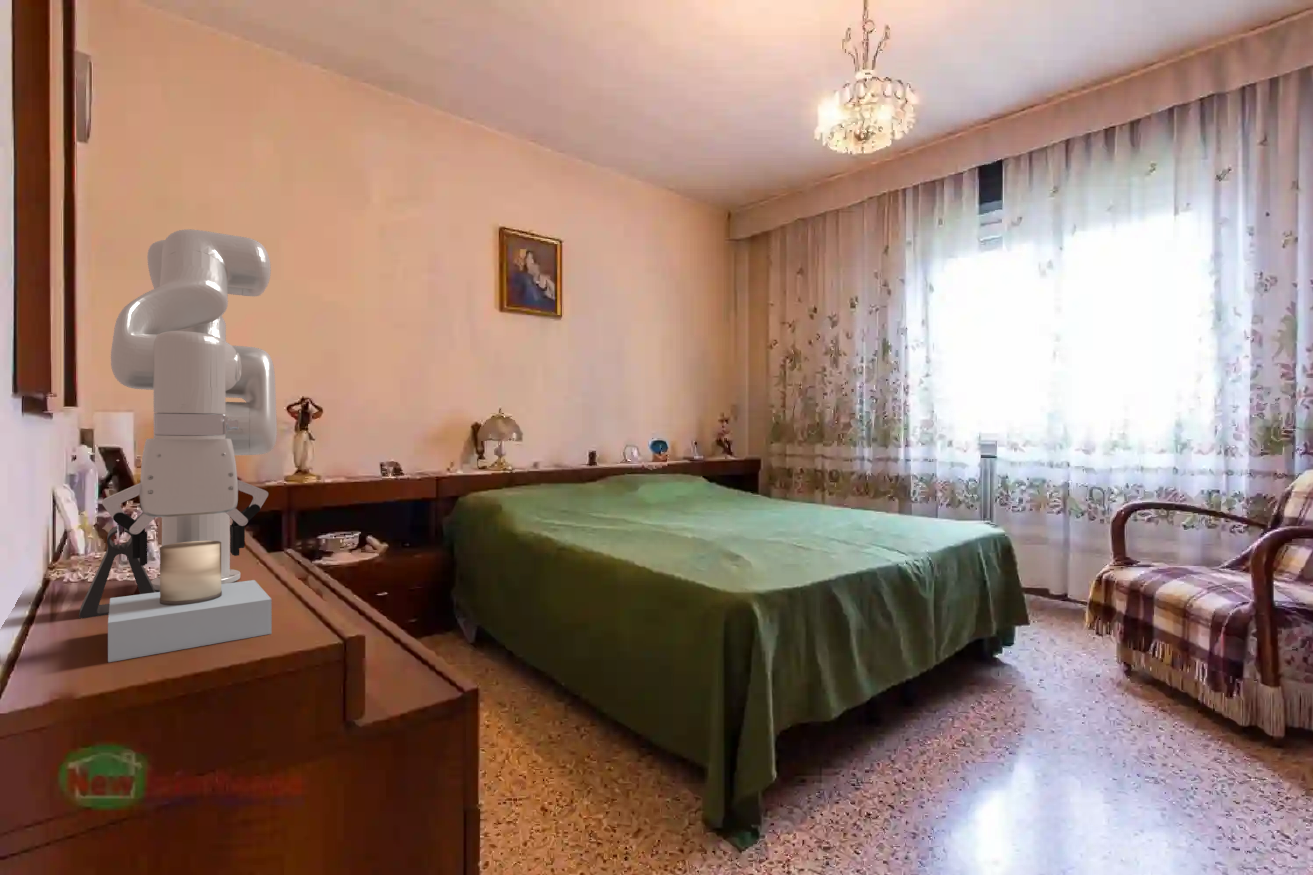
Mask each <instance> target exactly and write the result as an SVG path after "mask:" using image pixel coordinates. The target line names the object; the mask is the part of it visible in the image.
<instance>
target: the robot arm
mask: <svg viewBox="0 0 1313 875" xmlns="http://www.w3.org/2000/svg"><path fill="white" fill-rule="evenodd" d="M270 260H271V259H270V256H269V253H268V251H267V249H266V247H265V246H264V245H263V244H262V243H261V242H259V241H258V240H256V239H253V238H251V237H247V236H246V237H244V236H239V235H234V234H233V235H232V234H227V233H219V232H214V231H207V230H199V229H189V228H188V229H181V230H180V229H179V230H176V231H174V232H172V233H170V234H169V235H168V236H167V237H166V238H165V239H161V240H158V241H155V242H153V243H152V244H151V245H150V246H149V248H148V251H147V267H148V273H149V276H150V280H151V284H152V287H153V289H151V290H148V291H146V292H144V293H143V294H141V295H139V296H137V298H134V299H133V300H132V301H130V302H129V303H127V304H126V305H125V306H124V307H123V308H122V310H121V311H120V312H119V314H118V316H117V318H116V320H115V325H114V329H113V334H112V335H113V336H112V343H111V350H110V367H111V370H112V374H113V376H114V378H115V379H116V380H117V382H119V383H120V384H121V385H122V386H124V387H128V388H131V389H134V390H148V391H149V390H150V391H151V390H152V391H153V438H145V443H144V445H143V452H142V457H141V465H140V466H141V467H140V481H139V483H137V484H134V485H132V486H130V487H128V488H124V489H123V490H120V491H119V492H116V493H113V494H112V495H109V496H107V497H104V498H103V499H102V501H101V503H102V506H103V507H104V509H105V510H106V511H107V513H108V514H109V516H110V517H111V518H112V519H113V521H114V522H115V523H116V524H118V525H119V526H121V527H123V529H124V528H125V529H127V530H128V531H130V533H132V559H136V558H139V559H140V566H143V567H144V566H146V565H148V532H147V531H146V528H147V526H148V525H150V523H151V522H152V521H153V520H154V519H155V518H161V546H164V545H168V544H174V543H181V542H191V541H220V542H221V584H226V583H234V582H238V580H240V578H241V572H240V570H237V569H231V567H230V566H231V564H230V563H231V561H230V560H231V558H230V557H231V555H232V556H234V557H238V556H240V549H244V548H245V546H246V544H245V543H246V541H245V540H246V538H245V537H246V534H245V533H246V525H247V524H248V523H249V521H251V520H252V519H253V518H254V517H255V516H256V515H257V514H258V513H259V512H260V511H261V508H262V506H263V505H264V503H265V502H266V500H267V498H268V497H269V492H268V491H267V490H265V489H263V488H261V487H257V486H254V485H252V484H249V483H247V482H244V481H242V480H239V479H238V472H237V463H236V456H256V455H257V456H259V455H265V454H268V453H270V452H271V451H273V449H274V447H275V446H276V444H277V437H278V435H277V434H278V429H277V427H278V424H277V395H276V393H277V392H276V374H275V366H274V362H273V359H272V357H271V355H270V354H269V353H268V352H267V351H266V350H264V349H262V348H259V347H256V346H244V345H232V344H230V343H229V342H227V334H226V333H227V324H226V321H225V319H224V317H223V315H224V314H225V313H226V311H227V309H228V304H229V300H228V299H229V298H228V296H229V295H233V296H234V295H235V296H243V297H259V296H261V295H263V293H264V292H265V291H266V289H267V287H268V285H269V283H270V279H271V271H272V269H271V265H272V264H271V261H270ZM226 398H231V399H232V398H233V399H234V398H235V399H242V400H243V401H226ZM239 491H240V492H241V493H242V492H243V493H245V494H246V495H247V494H248V495H250V496H252V500H251V502H250V504H249V505H248V506H246V508H245V509H243V510H242V511H239V510H238V508H237V507H238V503H239V502H238V501H239ZM138 496H139V506H140V509H141V511H142V512H141V513H140V514H139V515H138V516H137V517H136V518H133V517H131V516H130V515H128V514H127V513H126V512H124V510H123V509H122V507H121V505H122V504H123V503H125V502H126V501H129V500H131V499H133V498H136V497H138ZM230 519H231V520H232V523H230V522H231V520H230ZM150 581H151V583H152V585H153V587H154V589H155V591H157V592H160V576H158V577H155V578H153V579H152V580H150Z"/></svg>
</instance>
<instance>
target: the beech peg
mask: <svg viewBox="0 0 1313 875" xmlns="http://www.w3.org/2000/svg"><path fill="white" fill-rule="evenodd" d="M159 577H160V591H159V592H160V604H163V605H187V604H195V603H201V602H206V601H210V600H214V599H216V598H219V597H221V596H222V591H221V542H220V541H191V542H181V543H174V544H168V545H164V546H162V545H161V546H159Z"/></svg>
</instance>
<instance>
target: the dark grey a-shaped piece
mask: <svg viewBox="0 0 1313 875" xmlns="http://www.w3.org/2000/svg"><path fill="white" fill-rule="evenodd" d="M123 532H124V533H126V534H128V535H129V536H130V537H129V539H128V540H127V541H125V543H121V544H120V543H117V544H116V542H114V541H113V540H112V537H113V535H115V534H117V533H118V526H117V525H116V526H113V527H112V528H111V529H110V530H109V531H108V533H107V539H106V544H107V548H106V551H105V553H104V555H103V557H102V560H101V561H100V564H99V566H98V568H97V570H96V573H95V575H94V576H93V580H92V581H91V584H90V586H89V588H88V590H87V592H86V594H85V597H84V599H83V601H82V604H81V605H80V609H79V613H78V618H79V619H81V618H82V619H88V618H96V617H101V616H102V617H103V616H109V605H110V603H105V604H104V603H102V604H100V602H101V600H102V596H103V593H104V591H105V588H106V584H107V581H108V578H109V575H110V572H111V569H112V566H113V563H114V561H115V558H116V557H117V556H119V555H125V556H126V557H127V560H128V563H129V566H130V568H131V571H132V575H133V578H134V580H135V583H136V585H137V588H138V591H139V594H147V593H155V592H157V590H155V589H154V587H153V585H152V583H151V581H152V580H151V579H150V577H149V575H148V573H147V571H146V570H145V567H144V566H140V558H136V559H132V533H130V531H128V530H127V529H125V528H124V527H123Z"/></svg>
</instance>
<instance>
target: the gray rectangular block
mask: <svg viewBox="0 0 1313 875" xmlns="http://www.w3.org/2000/svg"><path fill="white" fill-rule="evenodd" d="M221 591H222V596H221V597H219V598H216V599H214V600H210V601H206V602H201V603H195V604H187V605H163V604H160V591H156V592H155V593H147V594H140V593H139V594H133V595H131V594H130V595H126V596H125V595H124V596H117V597H110V598H109V604H110V605H109V615H108V618H107V662H108V663H113V662H114V663H115V662H117V661H118V662H119V661H124V660H130V659H135V658H141V657H147V656H151V655H158V654H164V653H170V652H175V651H180V650H181V651H182V650H186V649H193V648H197V647H203V646H209V645H215V644H221V643H227V642H233V641H238V640H243V639H251V638H255V637H260V636H266V635H272V628H273V626H272V622H273V620H272V616H273V615H272V609H273V608H272V604H273V601H272V600H273V599H272V597H271V596H269V595H268V593H267V592H266V591H265V590H264V589H263V588H262V587H261V585H260V584H259V583H258V582H257V581H256V580H255V579H252V580H243V581H242V580H241V581H235V582H232V583H226V584H221Z"/></svg>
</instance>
